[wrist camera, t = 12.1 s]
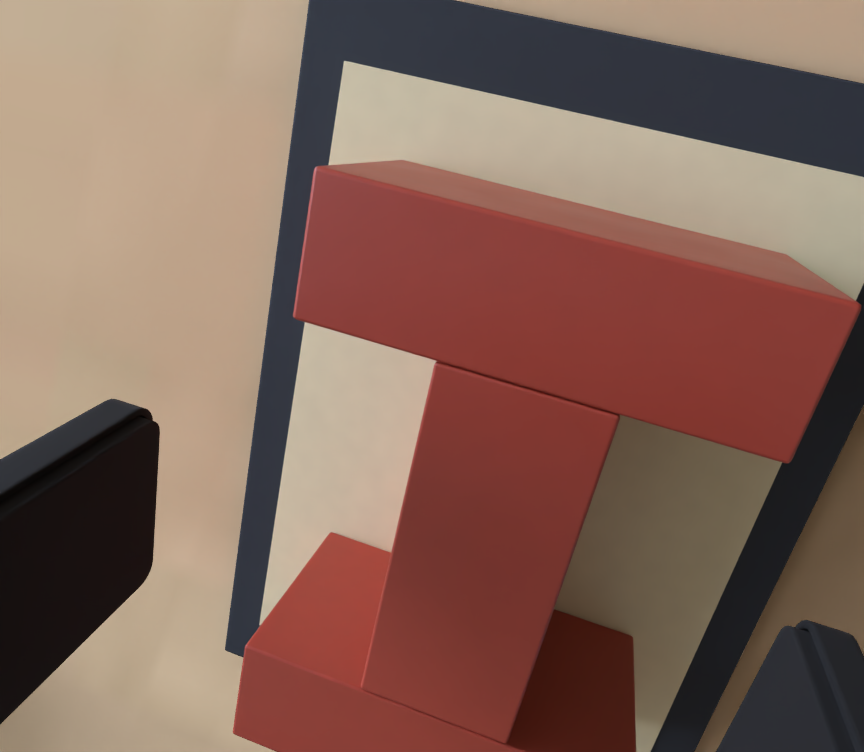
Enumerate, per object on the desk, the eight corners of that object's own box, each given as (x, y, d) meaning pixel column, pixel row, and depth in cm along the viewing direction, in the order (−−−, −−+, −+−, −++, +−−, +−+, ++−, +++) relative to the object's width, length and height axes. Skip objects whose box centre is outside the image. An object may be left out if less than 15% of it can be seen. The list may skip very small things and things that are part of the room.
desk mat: (231, 641, 21) (222, 652, 20) (319, -25, 14) (310, -30, 14) (661, 807, 19) (661, 823, 18) (995, 112, 12) (1010, 112, 12)
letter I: (316, 605, 19) (231, 734, 15) (399, 158, 15) (312, 165, 10) (603, 710, 18) (598, 884, 14) (789, 254, 13) (865, 305, 9)
